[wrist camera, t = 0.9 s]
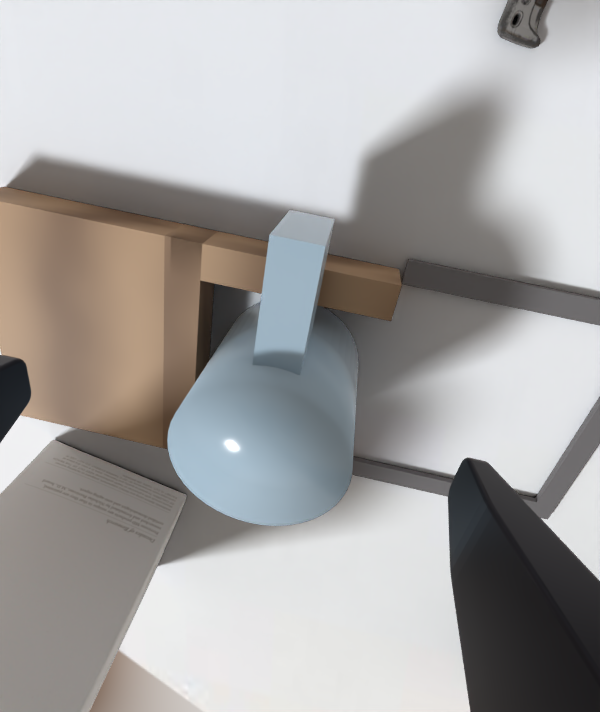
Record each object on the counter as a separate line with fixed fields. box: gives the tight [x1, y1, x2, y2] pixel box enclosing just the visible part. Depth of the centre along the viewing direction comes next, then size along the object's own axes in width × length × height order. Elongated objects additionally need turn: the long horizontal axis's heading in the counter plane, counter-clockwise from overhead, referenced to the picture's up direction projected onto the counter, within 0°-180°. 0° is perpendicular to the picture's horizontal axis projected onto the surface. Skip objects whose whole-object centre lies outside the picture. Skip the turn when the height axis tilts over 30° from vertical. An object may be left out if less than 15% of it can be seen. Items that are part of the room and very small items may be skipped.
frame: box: [352, 259, 600, 519], centre depth 21 cm, size 11×12×1 cm
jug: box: [167, 210, 359, 526], centre depth 17 cm, size 11×6×7 cm, turn 171°
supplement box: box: [0, 440, 187, 712], centre depth 22 cm, size 9×9×15 cm
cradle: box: [0, 187, 402, 449], centre depth 20 cm, size 17×11×2 cm, turn 81°
